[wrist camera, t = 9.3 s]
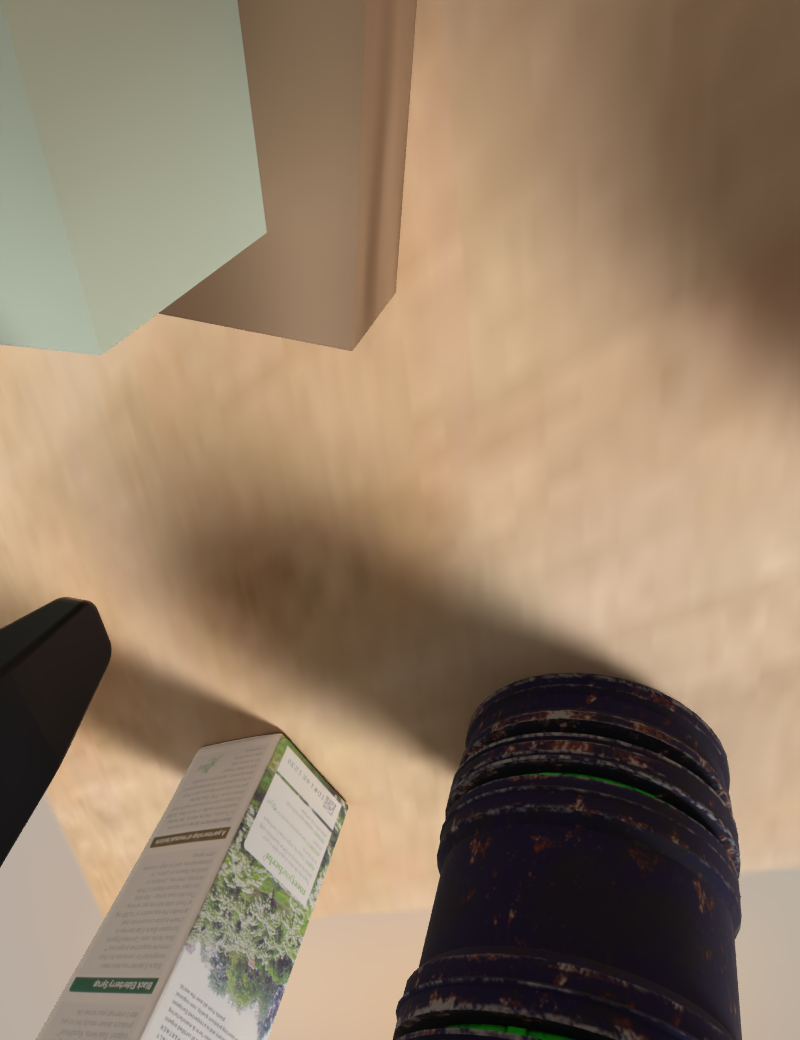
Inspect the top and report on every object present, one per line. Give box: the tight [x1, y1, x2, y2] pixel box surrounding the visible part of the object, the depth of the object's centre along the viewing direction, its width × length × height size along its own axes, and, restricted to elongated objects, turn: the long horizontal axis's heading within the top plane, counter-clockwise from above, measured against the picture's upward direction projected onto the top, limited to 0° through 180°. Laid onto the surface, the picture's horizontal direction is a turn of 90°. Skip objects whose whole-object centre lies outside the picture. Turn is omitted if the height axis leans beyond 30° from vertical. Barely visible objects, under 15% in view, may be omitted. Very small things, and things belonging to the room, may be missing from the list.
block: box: [159, 0, 417, 351], centre depth 16 cm, size 9×9×4 cm
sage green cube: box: [0, 0, 267, 355], centre depth 12 cm, size 5×5×6 cm
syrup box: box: [36, 733, 348, 1040], centre depth 30 cm, size 6×6×14 cm
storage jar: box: [393, 673, 742, 1040], centre depth 23 cm, size 10×10×15 cm
